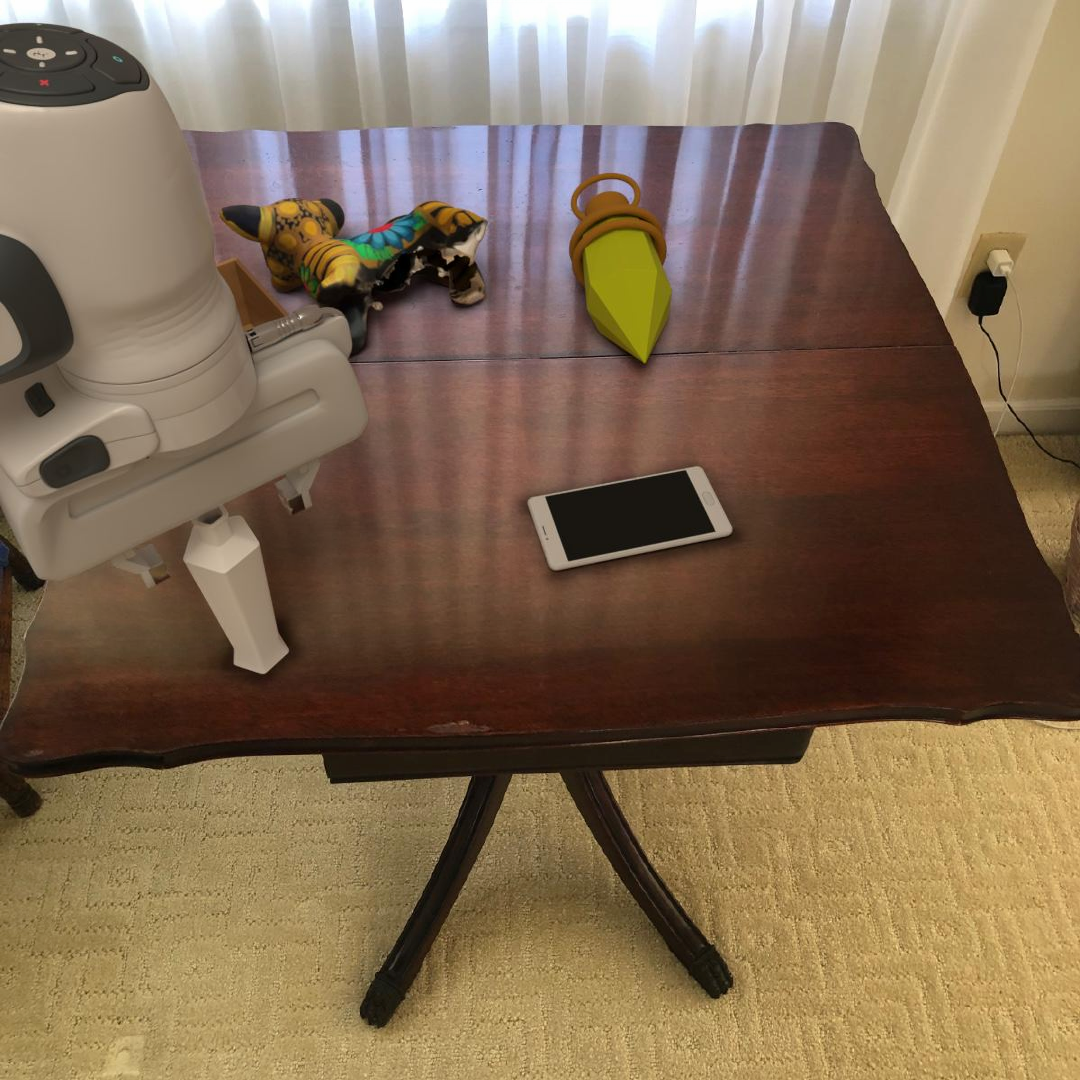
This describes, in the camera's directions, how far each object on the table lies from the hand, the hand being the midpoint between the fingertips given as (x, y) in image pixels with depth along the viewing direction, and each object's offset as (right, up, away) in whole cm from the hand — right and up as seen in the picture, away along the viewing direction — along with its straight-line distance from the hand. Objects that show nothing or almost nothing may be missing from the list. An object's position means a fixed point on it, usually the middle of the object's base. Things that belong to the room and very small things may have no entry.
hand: (228, 540), depth 61 cm
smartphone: (+26, +2, +18) cm, 32 cm away
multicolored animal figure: (+3, +24, +36) cm, 43 cm away
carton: (-8, +15, +28) cm, 33 cm away
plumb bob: (+27, +23, +36) cm, 50 cm away
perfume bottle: (-1, -8, +10) cm, 13 cm away
